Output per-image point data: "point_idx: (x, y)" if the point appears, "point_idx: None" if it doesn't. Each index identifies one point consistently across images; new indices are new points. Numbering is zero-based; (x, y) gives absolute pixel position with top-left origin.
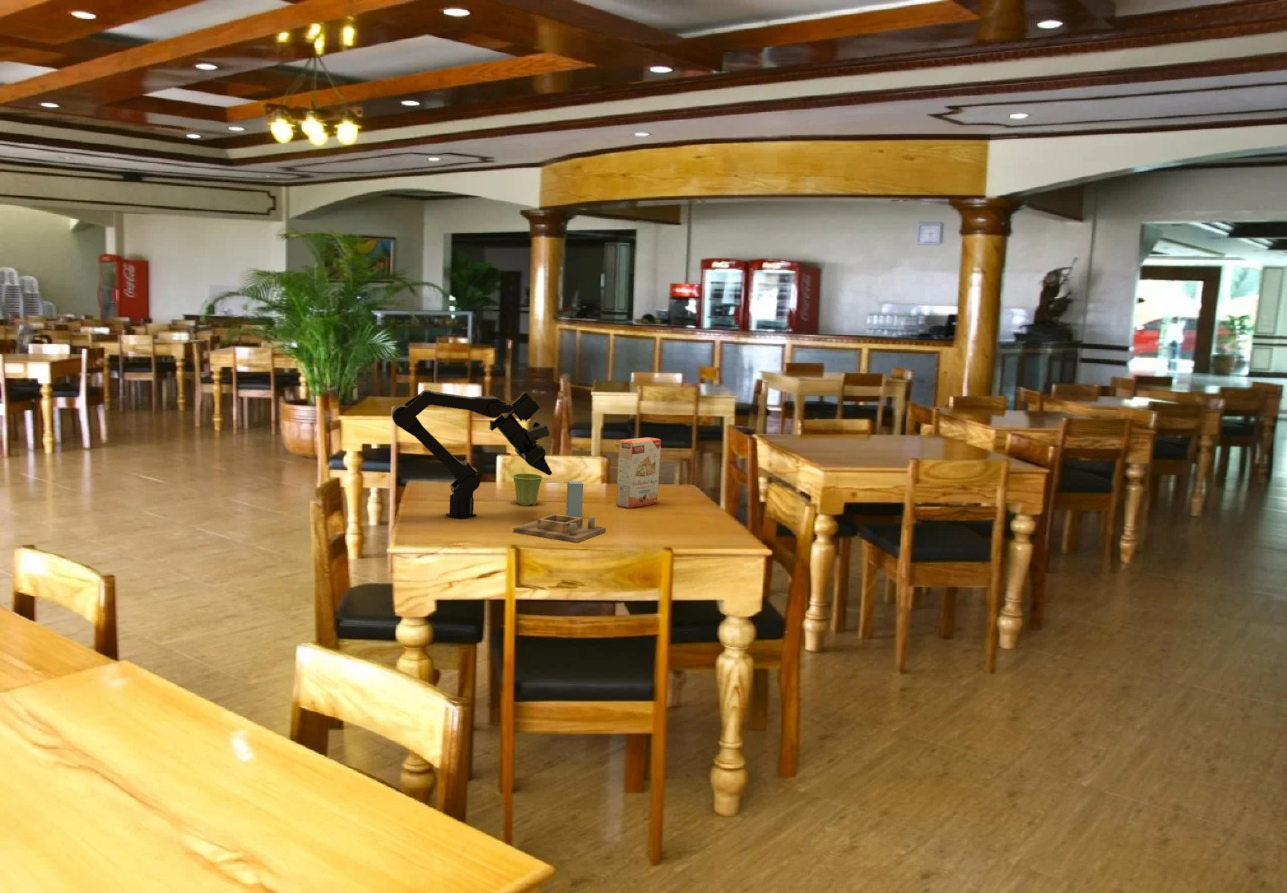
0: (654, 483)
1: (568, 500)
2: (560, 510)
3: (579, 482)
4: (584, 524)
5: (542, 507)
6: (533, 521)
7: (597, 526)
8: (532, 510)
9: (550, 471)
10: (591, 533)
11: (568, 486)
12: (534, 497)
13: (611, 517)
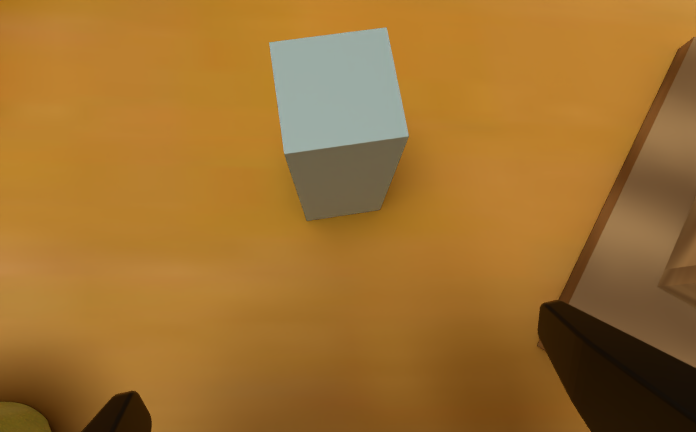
0: None
1: (368, 187)
2: (205, 250)
3: (336, 54)
4: (653, 130)
5: (123, 358)
6: None
7: (679, 71)
8: (218, 422)
9: (589, 323)
10: None
11: (350, 157)
12: (19, 426)
13: (353, 6)
